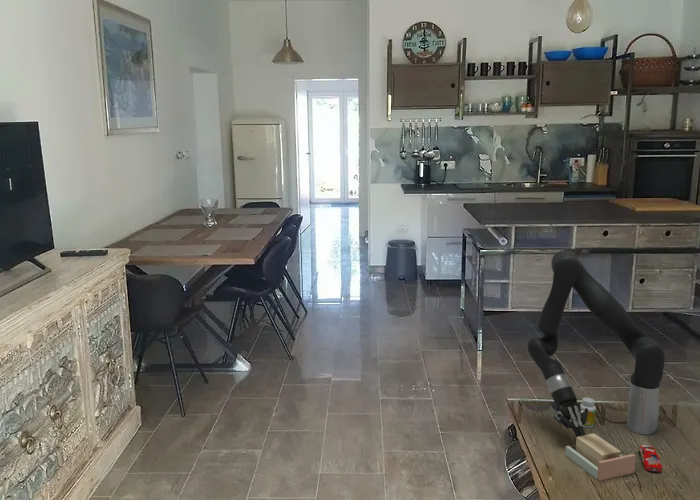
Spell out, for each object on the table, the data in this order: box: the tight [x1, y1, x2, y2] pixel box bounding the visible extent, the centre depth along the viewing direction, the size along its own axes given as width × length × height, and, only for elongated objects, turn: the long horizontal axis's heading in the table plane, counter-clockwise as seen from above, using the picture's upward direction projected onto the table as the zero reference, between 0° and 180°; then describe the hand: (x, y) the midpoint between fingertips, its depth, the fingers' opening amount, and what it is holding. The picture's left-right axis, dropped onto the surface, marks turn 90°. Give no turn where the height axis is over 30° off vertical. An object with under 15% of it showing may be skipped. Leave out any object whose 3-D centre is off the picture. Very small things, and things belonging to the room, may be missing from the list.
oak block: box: [575, 433, 622, 467], centre depth 192 cm, size 7×12×7 cm, turn 19°
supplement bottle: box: [580, 397, 597, 429], centre depth 217 cm, size 5×5×10 cm
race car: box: [638, 444, 663, 473], centre depth 193 cm, size 13×5×4 cm, turn 163°
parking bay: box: [564, 445, 637, 482], centre depth 192 cm, size 13×16×6 cm
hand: (582, 438), depth 199 cm, fingers closed
